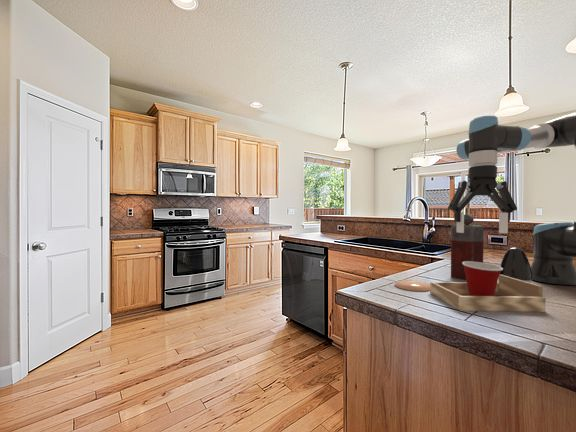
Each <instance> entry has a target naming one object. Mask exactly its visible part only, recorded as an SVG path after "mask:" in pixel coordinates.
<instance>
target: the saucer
mask: <svg viewBox="0 0 576 432" xmlns="http://www.w3.org/2000/svg"><path fill="white" fill-rule="evenodd" d="M394 287H396V288H399V289H401V290H406V291H409V292H410V291H411V292H430V282H429V283H428V282H425V281H418V280H405V279H403V280H402V279H401V280H397V281H395V286H394Z"/></svg>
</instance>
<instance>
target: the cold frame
mask: <svg viewBox="0 0 576 432" xmlns="http://www.w3.org/2000/svg"><path fill="white" fill-rule="evenodd" d="M429 284H430V291H429V294H431V295H432V296H434V297H436V298H438V299H439V300H441V301H443V302H444V303H446V304H448V305H449V306H452V307H453V308H455V309H456V310H458V311H461V312H468V311H469V312H475V311H476V312H538V313H539V312H541V313H542V312H543V313H545V312H546V297H545V296H543V286H542V285H539V284H535V283H532V282H531V283H529V282H526V281H522V280H519V279H515V278H512V277H508V276H505V275H499V277H498V281H497V285H496V290H495V293H494V296H469V290H468V287H467V281H465V282H464V281H461V282H460V281H459V282H458V281H455V282H454V281H430V282H429Z"/></svg>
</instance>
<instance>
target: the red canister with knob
mask: <svg viewBox="0 0 576 432" xmlns="http://www.w3.org/2000/svg"><path fill="white" fill-rule="evenodd" d="M473 223H474V216H473V215H472V214H469V213H468V214H465V213H464V233H458V232H456V229H457V224H453V225H451V228H450V278H453V279H458V280H463V281H467V280H466V274H465V269H464V265H463V264H462V262H466V261H471V262H482V263H484V226H483V225H482V224H481V225H480V224H479V225H478V224H477V225H476V224H473Z"/></svg>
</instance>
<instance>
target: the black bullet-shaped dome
mask: <svg viewBox="0 0 576 432" xmlns="http://www.w3.org/2000/svg"><path fill="white" fill-rule="evenodd" d="M499 266H500V267H502V268H503V270H502V271H501V272H500V274H499V275H505V276H508V277H512V278H515V279H519V280H522V281H526V282H529V283H532V281H533V280H532V271H531V264H530V261H529V258H528V256H527V255H526V253H525V251H524V250H523V249H521V248H519V247H516V246H515V247H513V246H512V247H510V248H508V249H507V250H506V251H505V252H504V254H503V256H502V258H501V262H500V265H499Z"/></svg>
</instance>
